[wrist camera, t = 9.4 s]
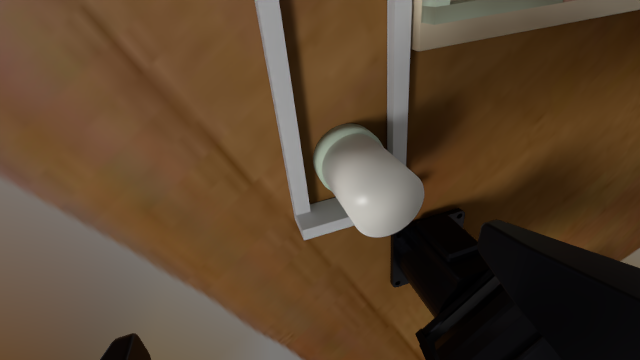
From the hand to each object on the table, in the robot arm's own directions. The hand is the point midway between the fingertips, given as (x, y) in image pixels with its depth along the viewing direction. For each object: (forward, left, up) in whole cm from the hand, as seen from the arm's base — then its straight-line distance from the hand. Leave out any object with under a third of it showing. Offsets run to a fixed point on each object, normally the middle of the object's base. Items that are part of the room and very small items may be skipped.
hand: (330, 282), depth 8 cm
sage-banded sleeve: (-4, -5, -13) cm, 14 cm away
